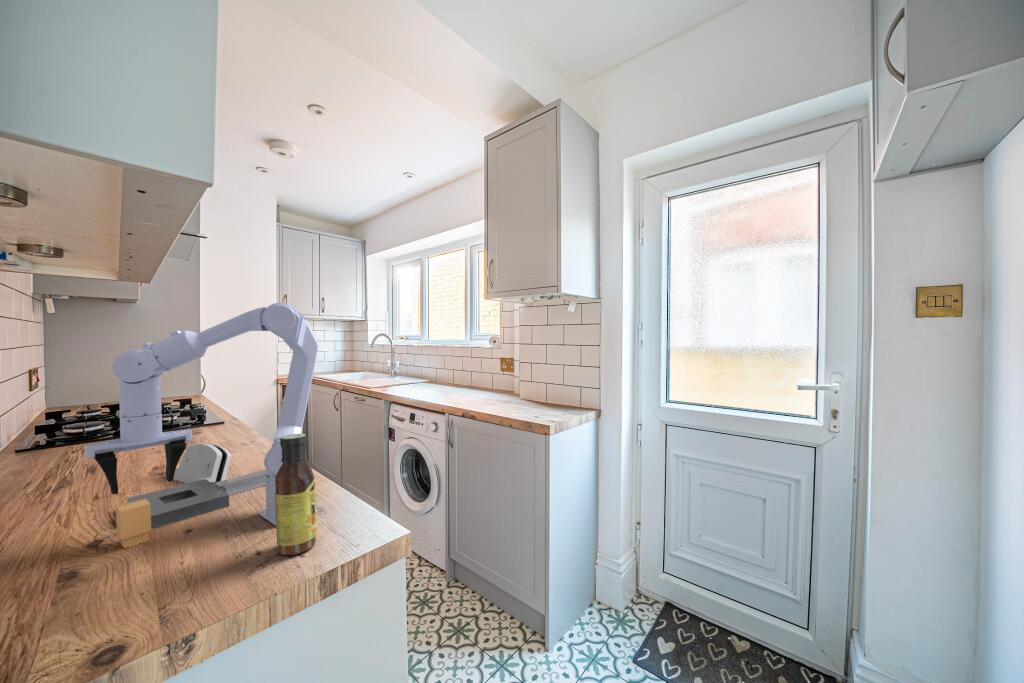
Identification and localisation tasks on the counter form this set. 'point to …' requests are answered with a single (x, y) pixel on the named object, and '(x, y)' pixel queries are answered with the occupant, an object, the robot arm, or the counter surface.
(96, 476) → the counter surface
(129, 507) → the wedge pin
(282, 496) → the sauce bottle
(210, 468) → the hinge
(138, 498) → the grey mounting plate
